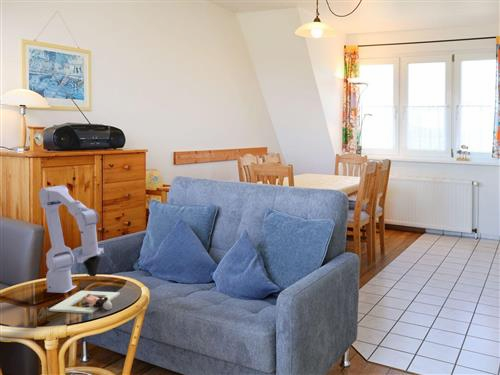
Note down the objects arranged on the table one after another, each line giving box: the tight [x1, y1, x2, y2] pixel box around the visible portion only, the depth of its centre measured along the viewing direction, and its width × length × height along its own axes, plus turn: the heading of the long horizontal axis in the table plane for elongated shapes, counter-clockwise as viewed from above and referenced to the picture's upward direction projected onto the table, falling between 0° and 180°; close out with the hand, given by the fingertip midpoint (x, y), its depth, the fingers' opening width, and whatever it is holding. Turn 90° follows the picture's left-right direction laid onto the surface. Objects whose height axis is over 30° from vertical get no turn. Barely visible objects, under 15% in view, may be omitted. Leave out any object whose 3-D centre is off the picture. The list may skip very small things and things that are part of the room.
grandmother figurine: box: [81, 293, 113, 311], centre depth 184 cm, size 8×4×13 cm
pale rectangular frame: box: [48, 290, 121, 315], centre depth 191 cm, size 18×20×1 cm
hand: (92, 275), depth 190 cm, fingers closed
